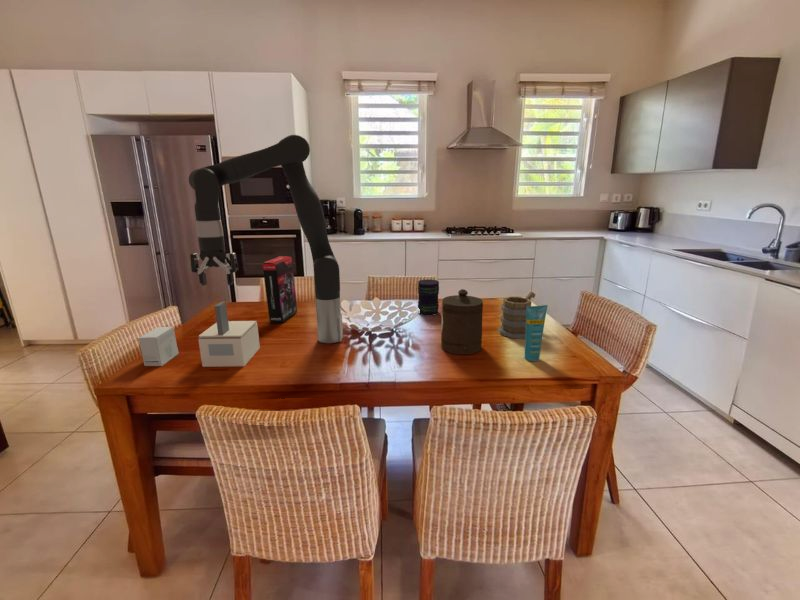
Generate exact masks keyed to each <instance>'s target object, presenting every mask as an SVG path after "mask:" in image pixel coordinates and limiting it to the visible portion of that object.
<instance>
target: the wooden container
mask: <svg viewBox="0 0 800 600" xmlns="http://www.w3.org/2000/svg"><path fill="white" fill-rule="evenodd" d="M457 293H458V295H449V296H445V297H443V298H442V302H441V305H442V307H441V308H442V309H441V324H440V325H441V327H440V331H441V332H440V339H441V340H440V347H441V349H442V350H443V351H445V352H447V353H449V354H454V355H463V356H464V355H467V356H468V355H472V354H473V355H474V354H477V353H479V352H480V351H481V350H482V338H483V307H484V301H483V299H481V298H480V297H476V296H473V295H469V294H468V293H469V292H468V290H466V289H463V288H462V289H460V290H458V291H457Z"/></svg>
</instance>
